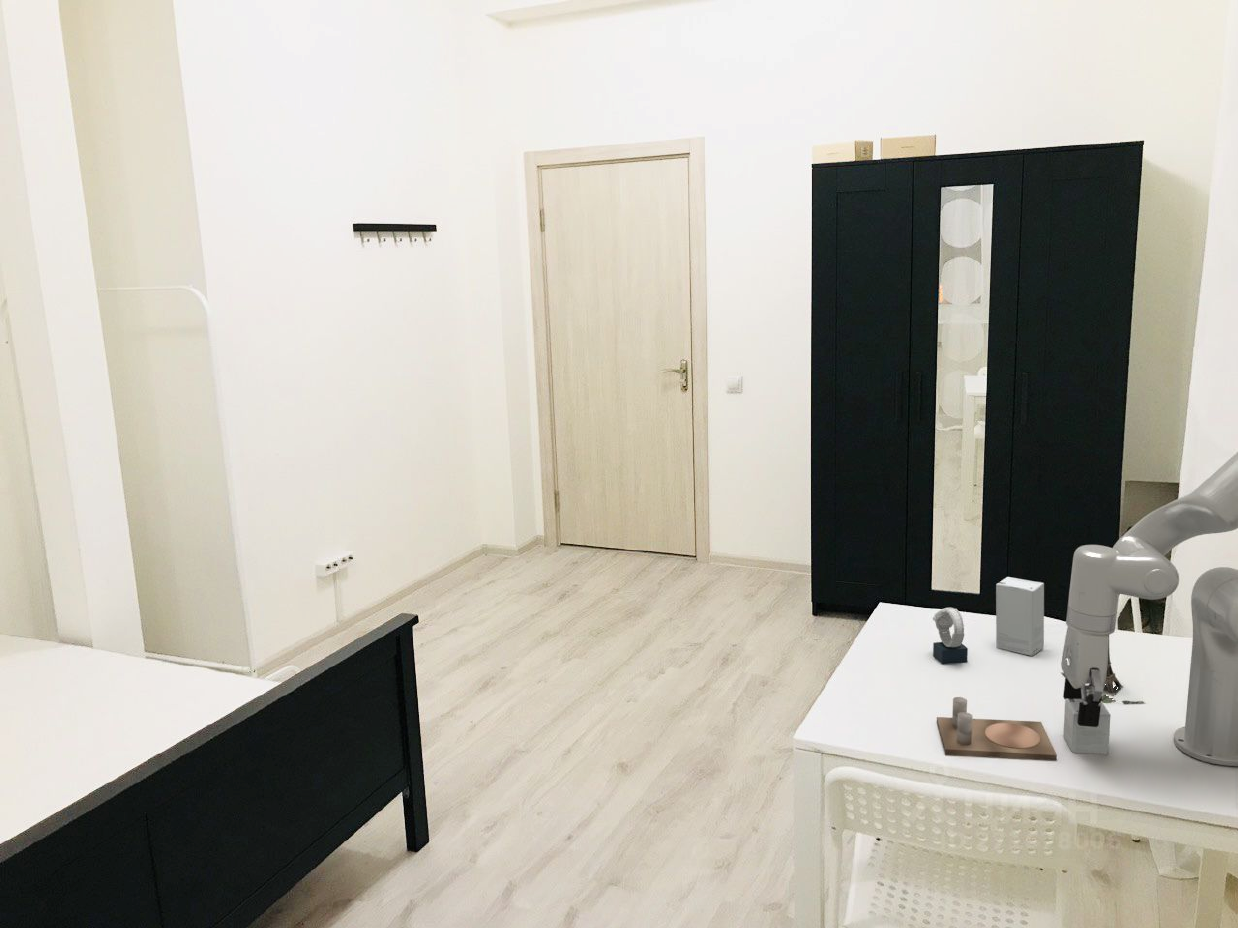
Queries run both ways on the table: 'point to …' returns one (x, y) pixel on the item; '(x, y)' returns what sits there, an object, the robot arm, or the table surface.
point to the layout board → (992, 736)
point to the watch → (950, 647)
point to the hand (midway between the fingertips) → (1080, 712)
